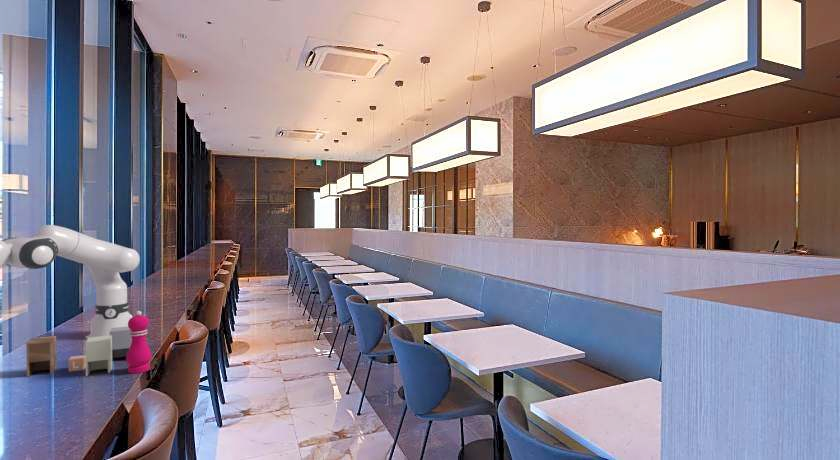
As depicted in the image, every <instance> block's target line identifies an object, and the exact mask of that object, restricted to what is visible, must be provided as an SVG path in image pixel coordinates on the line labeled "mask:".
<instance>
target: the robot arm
mask: <svg viewBox="0 0 840 460" xmlns="http://www.w3.org/2000/svg"><path fill="white" fill-rule="evenodd" d="M57 256H58V257H61V258H64V259H66V260H69V261H74V262H76V263H79V264H84V266H85V267H86V268H88V270H89V272H90V273H91V276H92V278H93V282H94V284H95V295H96V296H95V297H96V304H95V307H94V311H95V313H94V316H93V317H92V318H91V319H90V333H89V334H88V335H86V336H85V340H87V339H88V338H90V337H100V336H110V334H109V332H110V330H111V328H117V327H128V321H129V320H130V319H131V318H132V317H133V315H132V314H131V313H130V312H129V310H130V309H129V307H130V306H129V302H128V285H127V283H126V282H125V281H124V280H123V279H122V277H121V275H120V274H121V273H126V272H127V273H128V272H131V271H134V270H135V269H136V268H138V266H139V265H140V261H141V259H140V254H139V253H138V252H137V250H135V249H133V248H129V247H126V246H123V245H119V244H116V243H114V242H109V241H106V240H102V239H98V238H95V237H92V236H89V235H87V234H84V233H81V232H78V231H76V230H73V229H70V228H67V227H64V226H59V225H54V224H46V225H43V226H41V227H40V228H39V229H37V231H36V232H35V235H34V236H33V237H15V236H14V237H9V238H5V239H0V269H2V268H4V267H5V266H9V267H13V268H19V269H30V270H37V269H44V268H46V267H48V266H49V265H51V263H53V261H55V258H56V257H57Z"/></svg>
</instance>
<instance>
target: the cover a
mask: <svg viewBox="0 0 840 460" xmlns="http://www.w3.org/2000/svg"><path fill="white" fill-rule="evenodd" d="M25 346H26V349H25V351H26V354H25V356H26V378H27V377H30V376H31V375H32V374H33V372H39V371H47V370H49V375H50V374H53V373H54V372H55V370H57V336H56V335H52V336H40V337H31V338H30V339H29V340H27V341H26V342H25Z"/></svg>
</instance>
